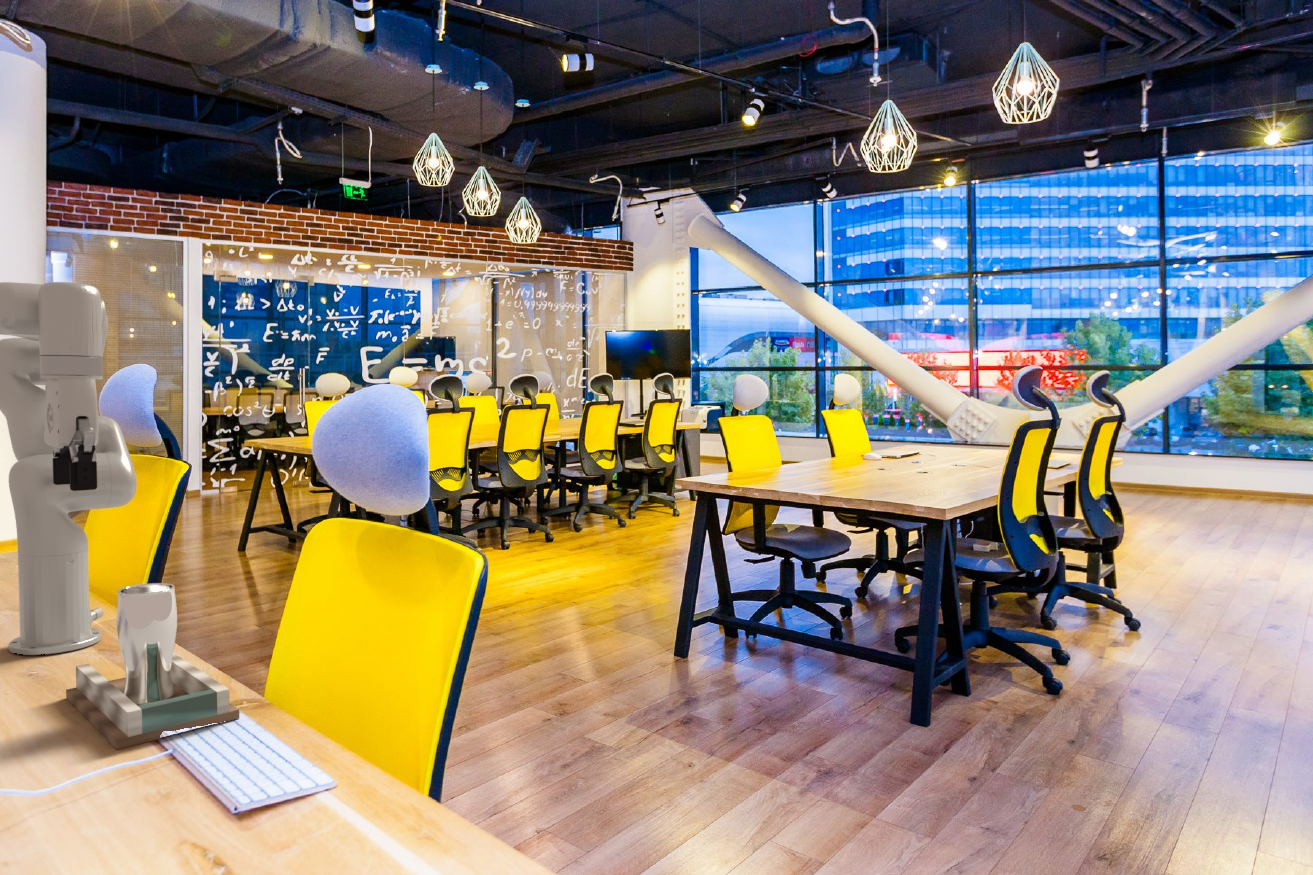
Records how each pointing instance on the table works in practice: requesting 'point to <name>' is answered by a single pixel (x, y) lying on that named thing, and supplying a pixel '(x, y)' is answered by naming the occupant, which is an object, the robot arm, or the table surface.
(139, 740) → the track board
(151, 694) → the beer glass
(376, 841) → the table surface
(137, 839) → the table surface
